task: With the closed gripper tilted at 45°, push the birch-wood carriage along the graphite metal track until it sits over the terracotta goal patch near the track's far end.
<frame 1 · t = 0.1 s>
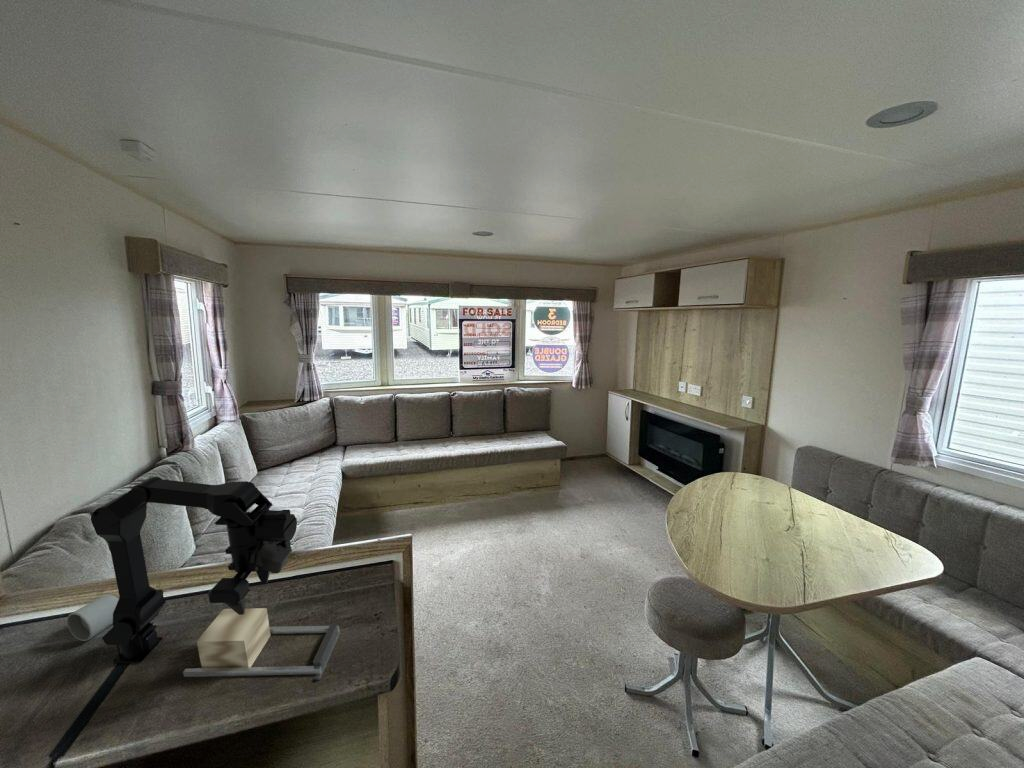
hand: (253, 598, 92), 15 cm above the kitchen counter, tool pointing down, fingers open, 9 cm apart
graphite track: (267, 656, 94), on the kitchen counter
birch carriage: (235, 638, 92), point 5 cm above the kitchen counter, slide at 0.0 cm
grey hollow cylinder: (95, 628, 100), on the kitchen counter
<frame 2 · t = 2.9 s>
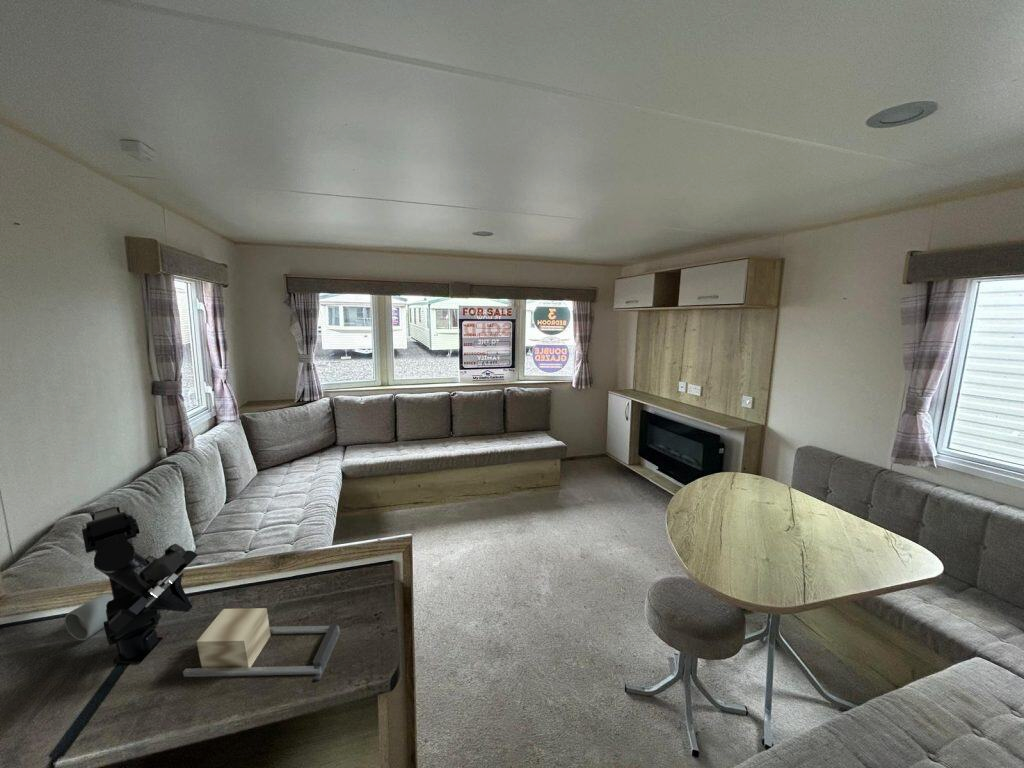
hand: (190, 609, 90), 13 cm above the kitchen counter, tool tilted 45°, fingers closed
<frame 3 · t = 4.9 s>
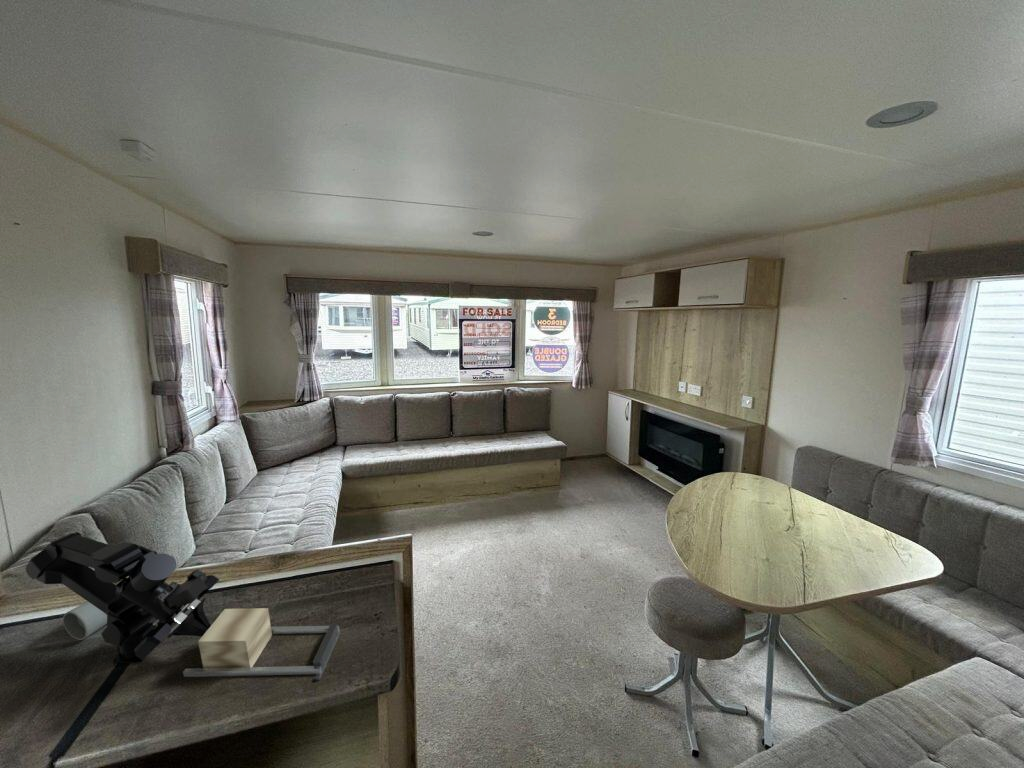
hand: (212, 634, 92), 7 cm above the kitchen counter, tool tilted 45°, fingers closed, pressing on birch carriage
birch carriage: (237, 638, 92), point 5 cm above the kitchen counter, slide at 0.3 cm, touching gripper
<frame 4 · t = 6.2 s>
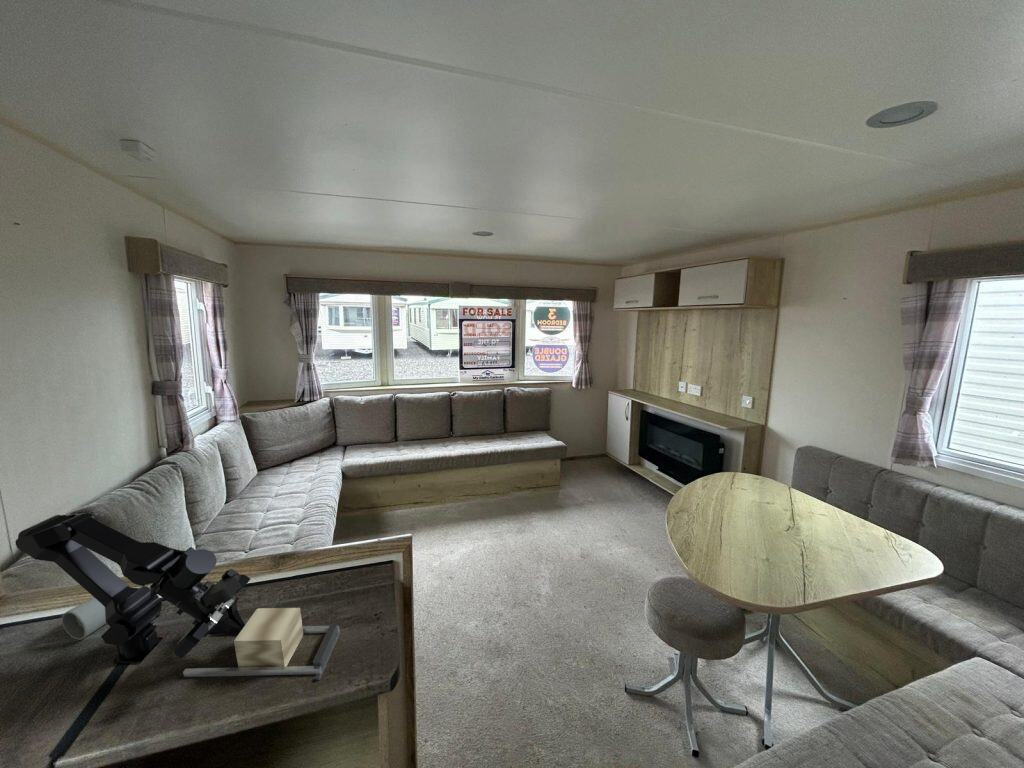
hand: (246, 633, 92), 7 cm above the kitchen counter, tool tilted 45°, fingers closed, pressing on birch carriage
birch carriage: (270, 637, 93), point 5 cm above the kitchen counter, slide at 7.8 cm, touching gripper
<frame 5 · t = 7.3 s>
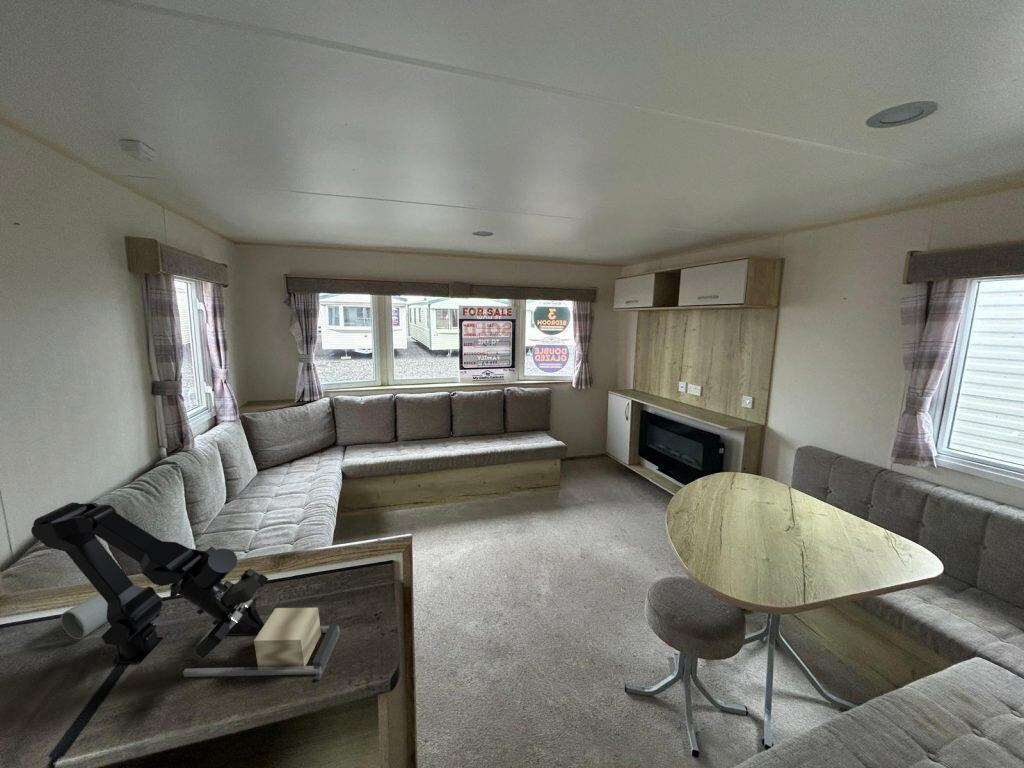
hand: (265, 633, 92), 7 cm above the kitchen counter, tool tilted 45°, fingers closed, pressing on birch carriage
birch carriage: (289, 637, 93), point 5 cm above the kitchen counter, slide at 12.1 cm, touching gripper
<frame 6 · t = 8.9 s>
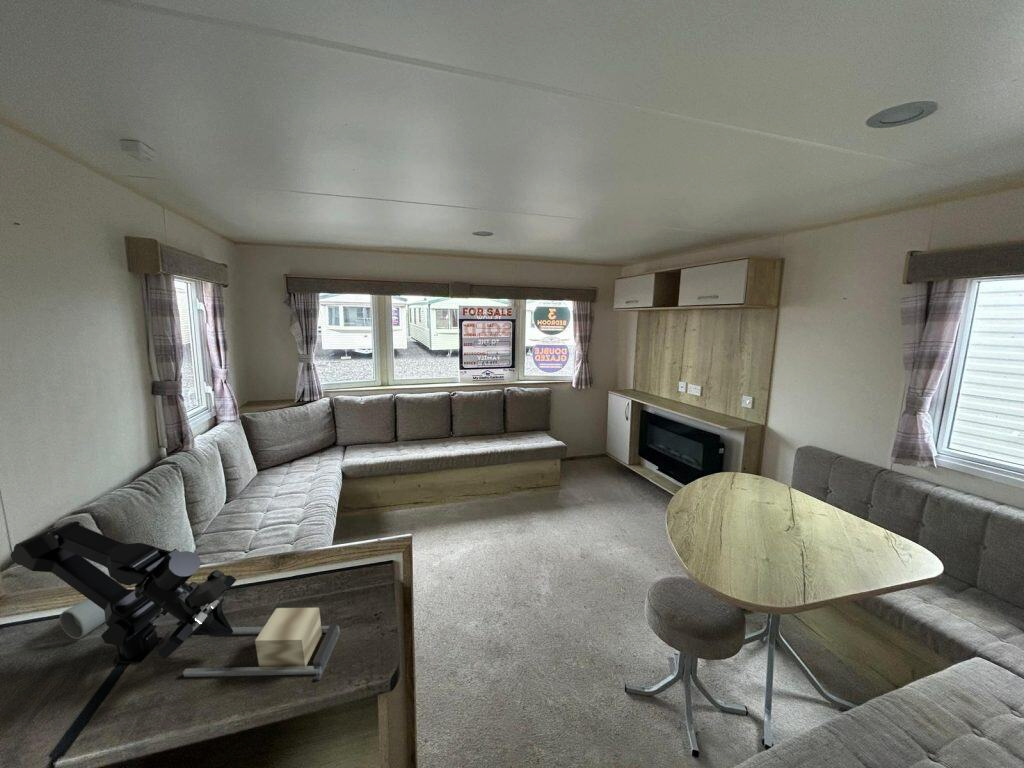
hand: (231, 634, 92), 6 cm above the kitchen counter, tool tilted 45°, fingers closed
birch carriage: (290, 637, 93), point 5 cm above the kitchen counter, slide at 12.3 cm
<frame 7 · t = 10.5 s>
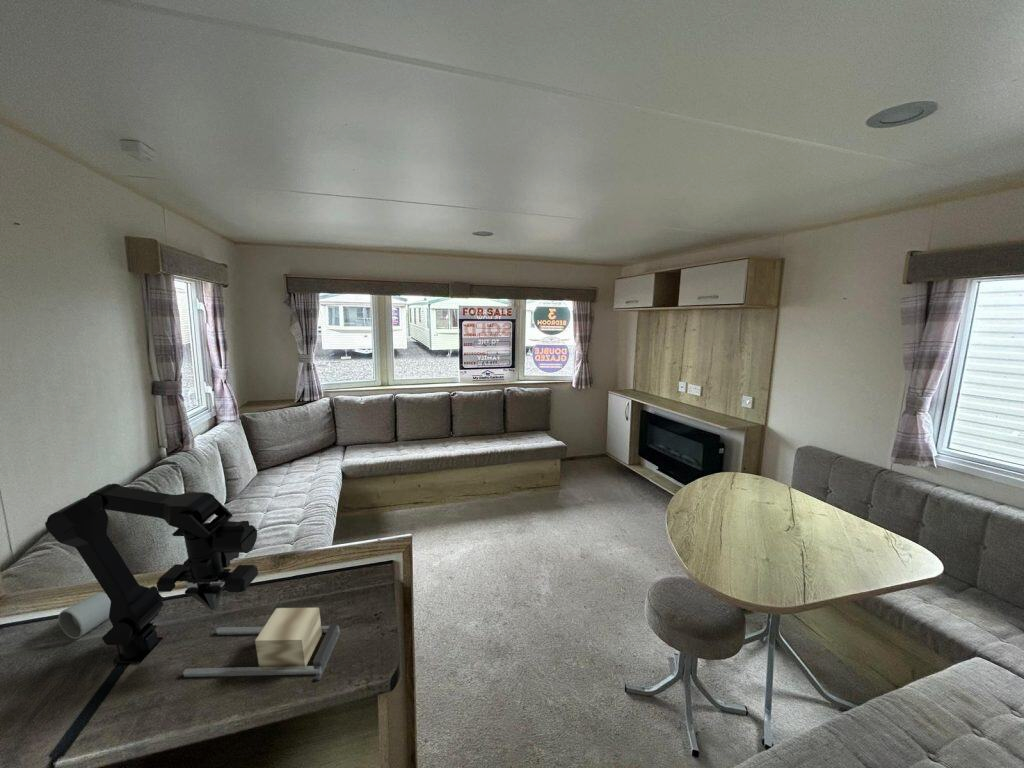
hand: (214, 608, 92), 12 cm above the kitchen counter, tool pointing down, fingers closed
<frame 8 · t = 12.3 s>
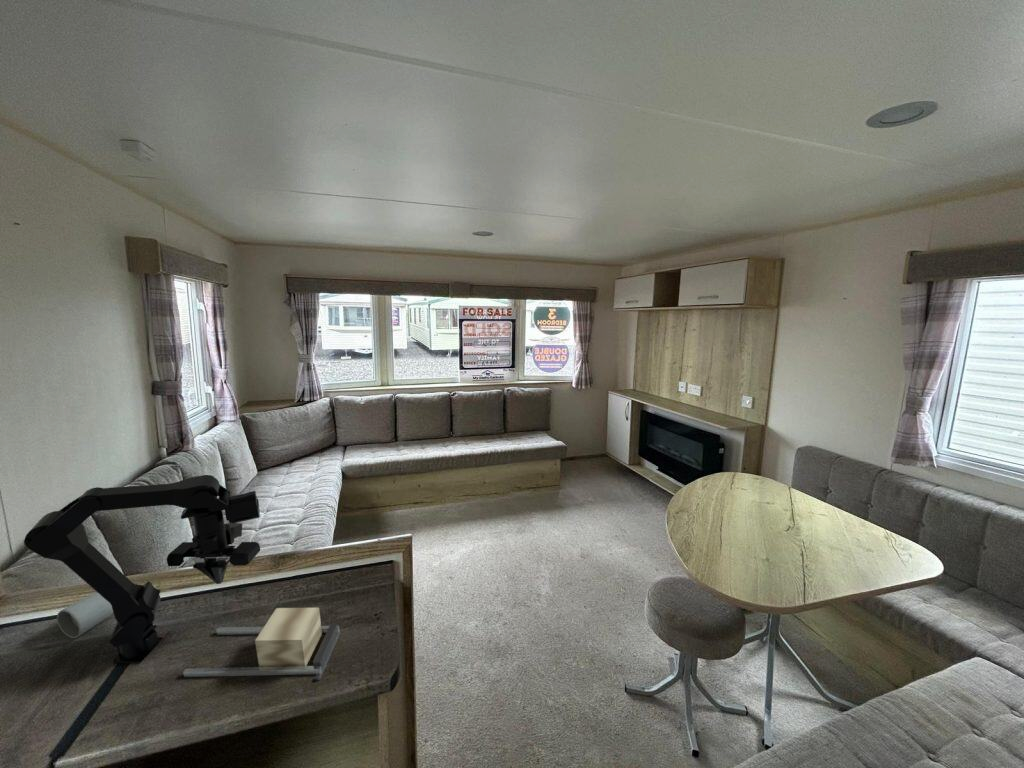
hand: (219, 582, 100), 12 cm above the kitchen counter, tool pointing down, fingers closed
at the end: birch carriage slide at 12.3 cm; the gripper is holding nothing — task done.
